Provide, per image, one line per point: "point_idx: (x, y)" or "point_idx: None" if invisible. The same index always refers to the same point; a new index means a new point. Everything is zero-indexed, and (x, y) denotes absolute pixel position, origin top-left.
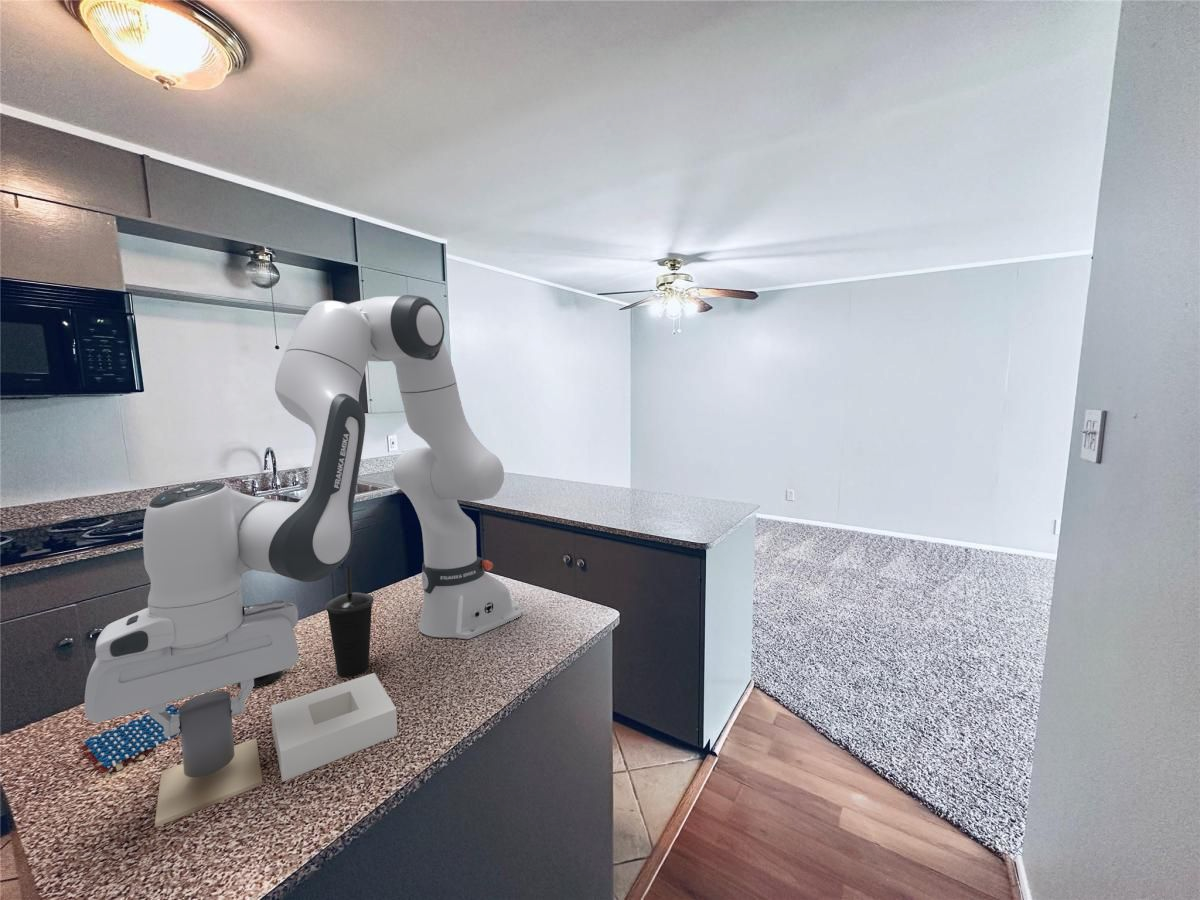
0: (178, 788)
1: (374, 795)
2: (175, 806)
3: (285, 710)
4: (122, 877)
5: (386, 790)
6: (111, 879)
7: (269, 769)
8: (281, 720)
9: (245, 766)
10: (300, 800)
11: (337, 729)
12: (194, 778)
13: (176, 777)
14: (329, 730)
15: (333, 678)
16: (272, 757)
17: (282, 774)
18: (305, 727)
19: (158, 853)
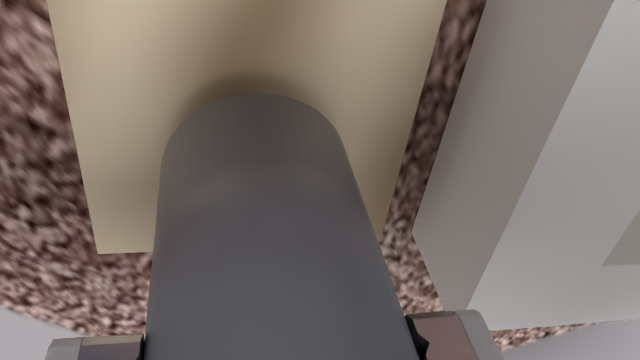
0: (142, 133)
1: (526, 332)
2: (146, 219)
3: (621, 101)
4: (58, 303)
5: (547, 331)
6: (33, 298)
7: (417, 130)
8: (558, 174)
9: (360, 152)
10: (423, 282)
11: (618, 316)
12: (195, 108)
13: (122, 57)
14: (602, 310)
15: None
16: (450, 70)
17: (427, 266)
18: (576, 263)
19: (125, 278)
